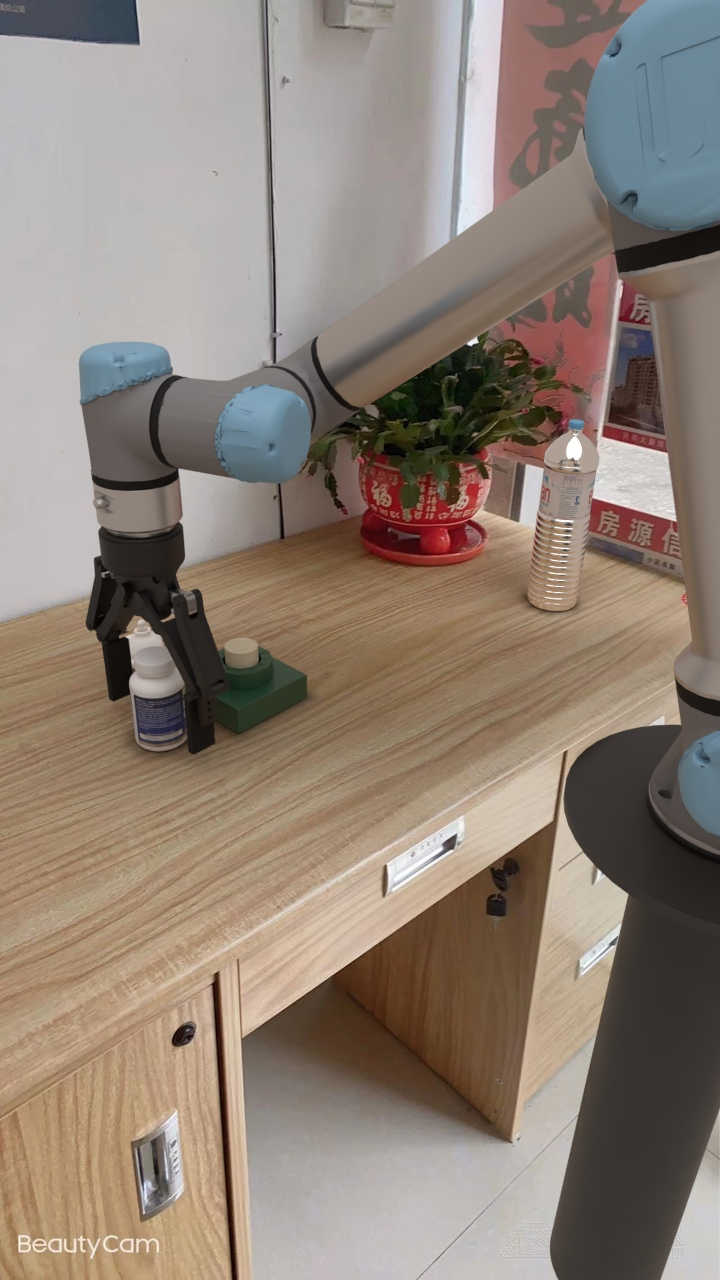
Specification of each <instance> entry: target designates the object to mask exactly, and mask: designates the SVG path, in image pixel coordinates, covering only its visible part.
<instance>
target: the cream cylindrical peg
mask: <svg viewBox="0 0 720 1280" xmlns="http://www.w3.org/2000/svg"><path fill="white" fill-rule="evenodd" d="M258 646H259V643H258V641H256V640H254V639H252V638H249V637H235V638H232V639H230V640H227V641H226V642H225V643H224V646H223V648H224V649H225V664H226V665H227V666H228V667H230V668H238V669H243V668H250V667H253V666H255V665H257V664H258V662H259V656H258Z"/></svg>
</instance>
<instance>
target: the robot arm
mask: <svg viewBox="0 0 720 1280" xmlns="http://www.w3.org/2000/svg"><path fill="white" fill-rule="evenodd" d="M583 125H584V126H583V127H582V128H581V129H579V131H578V134H577V137H576V139H575V140H576V141H575V144H574V148H573V151H572V152H571V154H570V155H568V156H567V157H565V158H564V159H562V160H561V161H559V162H558V163H557V164H555V165H554V166H553V167H552V168H550V169H549V170H547V171H546V172H544V173H543V174H542V175H540V176H539V177H538V178H535V180H533V181H532V182H530V183H529V184H528V185H526V186H524V188H522V189H521V190H519V191H518V192H517V193H515V194H513V195H512V196H511V197H510V198H508V199H507V200H505V201H504V202H502V203H501V204H500V205H498V206H497V207H495V208H494V209H493V210H491V211H490V212H489V213H487V214H486V215H484V216H483V217H481V218H480V219H479V220H477V221H476V222H474V223H473V224H472V225H470V226H469V227H467V228H466V229H464V230H463V231H462V232H460V233H459V234H458V235H456V236H455V237H453V238H452V239H451V240H449V241H448V242H447V243H445V244H444V245H442V246H441V247H440V248H438V249H436V250H435V251H434V252H432V253H431V254H430V255H428V256H427V257H425V258H424V259H423V260H420V262H418V263H417V264H416V265H413V267H411V268H410V269H409V270H407V271H406V272H404V273H403V274H402V275H400V276H399V277H397V278H396V279H394V280H393V281H392V282H390V283H389V284H388V285H386V286H385V287H384V288H382V289H381V290H379V291H377V292H376V293H375V294H374V295H372V296H371V297H369V298H368V299H367V300H365V301H363V302H362V303H361V304H360V305H358V306H357V307H355V308H354V309H352V310H351V311H350V312H349V313H347V314H345V315H344V316H343V317H341V318H340V319H339V320H337V321H336V322H334V323H333V324H332V325H330V326H329V327H327V328H326V329H325V330H323V331H322V332H320V333H319V334H318V335H316V336H315V337H314V338H312V339H310V340H308V341H307V342H306V343H305V344H303V345H302V346H300V347H299V348H298V349H296V350H295V351H293V352H292V353H291V354H289V355H287V356H286V357H284V358H283V359H281V360H279V361H277V362H274V363H272V364H270V365H267V366H263V367H261V368H258V369H256V370H253V371H250V372H248V373H245V374H242V375H240V376H237V377H233V378H231V379H228V380H227V379H226V380H216V379H215V380H214V379H204V378H194V377H187V376H183V375H180V374H174V368H173V367H174V366H172V362H171V361H172V360H171V356H170V353H169V351H168V350H167V348H165V347H164V346H163V345H160V344H159V345H158V344H155V343H153V342H145V341H114V342H113V341H111V342H105V343H99V344H95V345H92V346H90V347H88V348H86V349H85V350H83V351H82V353H81V355H79V360H78V372H79V374H78V375H79V389H80V391H79V392H80V399H79V405H80V407H81V411H82V419H83V423H84V425H83V426H84V430H85V435H86V442H87V449H88V455H89V462H90V472H91V473H90V474H91V481H92V487H93V497H94V498H93V501H92V505H93V507H94V508H95V515H96V521H97V523H98V524H99V525H100V527H99V529H98V530H97V531H98V532H97V533H98V534H97V535H98V543H99V551H100V555H97V556H95V557H94V558H93V567H94V568H93V569H94V577H93V583H92V587H91V588H92V589H91V594H90V598H89V603H88V608H87V612H86V618H85V626H86V629H87V630H88V631H89V632H92V631H95V636H96V639H97V641H98V642H99V643H101V649H102V656H103V663H104V671H105V676H106V677H105V678H106V687H107V695H108V699H109V700H110V701H111V702H116V701H119V700H121V699H124V698H125V697H128V696H130V688H129V680H130V677H131V675H132V674H133V673H134V671H133V669H132V662H131V653H130V645H129V639H128V638H127V637H126V636H123V635H125V634H128V633H129V630H128V627H129V625H130V623H131V621H132V620H133V618H134V616H135V617H140V618H141V619H142V620H144V621H145V623H148V625H149V627H150V628H151V631H153V632H154V633H155V634H157V635H160V636H161V637H162V639H163V641H162V642H163V644H164V645H165V647H167V649H168V651H169V653H170V655H171V657H172V659H173V661H174V663H175V665H176V668H177V669H178V671H179V673H180V675H181V677H182V679H183V681H184V683H185V685H186V687H187V689H188V691H189V692H188V693H186V694H184V705H185V716H186V728H187V739H186V741H187V750H188V751H187V752H188V753H189V754H191V755H192V756H194V755H197V754H199V753H200V752H202V751H204V750H207V749H208V748H211V747H212V746H214V745H216V732H215V721H216V720H215V718H216V713H215V698H214V697H216V696H218V695H220V694H222V693H224V692H226V691H228V690H230V684H229V681H228V678H227V675H226V672H225V670H224V667H223V664H222V661H221V658H220V655H219V653H218V651H219V650H218V647H217V645H216V642H215V639H214V636H213V633H212V630H211V627H210V625H209V624H210V623H209V622H208V619H207V616H206V613H205V605H204V599H203V593H202V591H201V590H200V589H199V588H193V589H190V590H188V591H187V590H185V589H181V586H180V584H179V580H178V577H177V576H178V575H177V573H178V571H179V569H180V567H181V566H182V565H183V563H184V561H185V559H186V546H185V545H186V544H185V534H184V532H185V531H184V525H183V524H182V523H181V521H182V519H183V516H184V513H183V502H182V491H181V479H180V472H179V470H184V471H190V472H196V473H201V474H206V475H212V476H218V477H222V478H223V477H224V478H229V479H235V480H238V481H239V482H242V483H244V482H246V483H249V484H257V483H261V484H262V483H264V484H275V485H276V484H277V485H279V484H285V483H287V482H290V481H291V480H293V479H294V478H295V477H296V476H297V475H298V474H299V472H300V470H301V466H303V465H304V464H305V462H306V460H307V457H308V454H309V450H310V445H311V441H312V440H314V439H317V438H318V437H321V436H323V435H326V434H328V433H329V432H331V431H333V430H335V429H337V428H338V427H340V426H341V425H343V424H344V422H345V421H346V420H347V419H349V418H351V417H352V416H354V415H355V414H357V413H358V412H360V411H361V410H362V409H364V408H365V407H367V406H369V405H370V404H372V403H374V402H375V401H377V400H378V399H380V398H382V397H383V396H385V395H386V394H388V393H390V392H391V391H394V389H396V388H398V387H399V386H401V385H402V384H404V383H405V382H407V381H409V380H410V379H412V378H414V377H415V376H417V375H418V374H420V373H422V372H423V371H424V370H426V369H428V368H430V367H431V366H433V365H435V364H436V363H438V362H440V360H443V359H444V358H445V357H447V356H449V355H451V354H452V353H454V352H455V351H457V350H459V349H460V348H462V347H463V346H465V345H467V344H469V343H470V342H471V341H473V340H475V339H476V338H478V337H479V336H481V335H483V334H484V333H486V332H487V331H489V330H491V329H492V328H494V327H496V326H497V325H499V324H500V323H502V322H503V321H505V320H506V319H508V318H510V317H511V316H513V315H515V314H516V313H518V312H520V311H521V310H523V309H524V308H526V307H528V306H529V305H531V304H532V303H535V301H538V299H541V298H542V297H543V296H545V295H547V294H548V293H550V292H551V291H553V290H555V289H556V288H558V287H560V286H561V285H562V284H564V283H566V282H567V281H569V280H571V279H573V278H574V277H575V276H578V274H579V275H580V274H581V273H582V272H583V271H585V270H587V269H589V268H590V267H592V266H593V265H595V264H596V263H598V262H600V261H601V260H603V259H604V258H606V257H608V256H610V255H611V254H613V253H614V255H615V256H614V257H615V264H616V271H617V277H618V279H619V280H621V281H622V282H623V283H625V284H626V285H628V286H629V287H631V288H633V289H634V290H636V291H637V292H639V293H640V294H641V295H642V296H643V297H644V298H645V301H647V307H648V314H649V315H648V316H649V323H650V328H651V337H652V343H653V351H654V353H653V354H654V361H655V368H656V376H657V383H658V384H657V385H658V392H659V399H660V405H661V411H662V412H661V413H662V421H663V428H664V436H665V437H664V438H665V444H666V452H667V458H668V460H667V461H668V467H669V476H670V483H671V488H672V489H671V490H672V497H673V505H674V512H675V513H674V514H675V521H676V528H677V536H678V543H679V551H680V558H681V559H680V560H681V567H682V574H683V581H684V590H685V596H686V605H687V612H688V619H689V627H690V635H691V636H690V637H691V642H689V643H688V644H687V645H686V646H685V647H684V648H683V649H682V650H681V651H680V652H679V654H678V655H677V656H676V658H675V660H674V662H673V675H674V681H675V691H676V698H677V705H678V712H679V719H680V725H681V727H682V732H681V733H680V734H679V736H678V737H677V739H676V740H675V742H674V743H673V744H672V746H671V747H670V749H669V750H668V751H667V753H666V754H665V756H664V757H663V758H662V760H661V761H660V763H659V764H658V765H657V767H656V768H655V770H654V772H653V774H652V776H651V778H650V782H649V787H648V791H647V798H646V801H647V806H648V810H649V812H650V815H651V816H652V818H653V820H654V821H655V823H656V824H657V825H658V826H659V828H660V829H661V830H662V831H663V832H664V833H665V834H666V835H667V836H669V837H670V838H671V839H672V840H674V841H675V842H676V843H678V844H679V845H681V846H682V847H684V848H686V849H687V850H689V851H691V852H693V853H695V854H697V855H699V856H701V857H703V858H706V859H708V860H711V861H713V862H716V863H719V864H720V0H645V2H643V3H642V4H641V5H640V6H638V7H637V9H636V10H635V11H633V12H632V13H631V14H630V16H628V17H627V19H626V20H625V21H624V22H623V23H622V24H621V26H620V27H619V28H618V29H617V31H616V32H615V34H614V35H613V37H612V38H611V40H610V41H609V43H608V44H607V46H606V48H605V49H604V51H603V53H602V55H601V56H600V59H599V61H598V63H597V65H596V67H595V71H594V73H593V75H592V77H591V81H590V85H589V89H588V93H587V98H586V101H585V109H584V122H583ZM171 615H173V616H174V617H173V618H171V619H168V618H169V617H171ZM163 620H165V621H163ZM120 636H122V637H120ZM197 683H198V684H197Z"/></svg>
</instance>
